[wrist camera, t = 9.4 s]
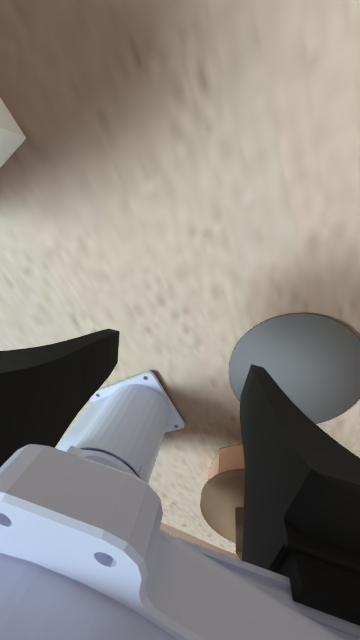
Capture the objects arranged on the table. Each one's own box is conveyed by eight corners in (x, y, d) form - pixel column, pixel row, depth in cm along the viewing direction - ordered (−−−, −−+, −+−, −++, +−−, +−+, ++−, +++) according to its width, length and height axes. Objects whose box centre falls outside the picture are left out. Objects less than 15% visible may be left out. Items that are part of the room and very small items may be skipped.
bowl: (230, 502, 30) (230, 540, 26) (199, 452, 28) (194, 485, 24) (303, 494, 27) (314, 535, 23) (274, 437, 25) (281, 472, 21)
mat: (256, 433, 25) (257, 436, 25) (208, 342, 22) (208, 344, 22) (384, 405, 21) (387, 408, 21) (344, 290, 18) (346, 291, 18)
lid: (225, 543, 27) (224, 597, 23) (184, 476, 24) (174, 524, 20) (328, 539, 23) (348, 603, 19) (292, 460, 20) (307, 515, 16)
